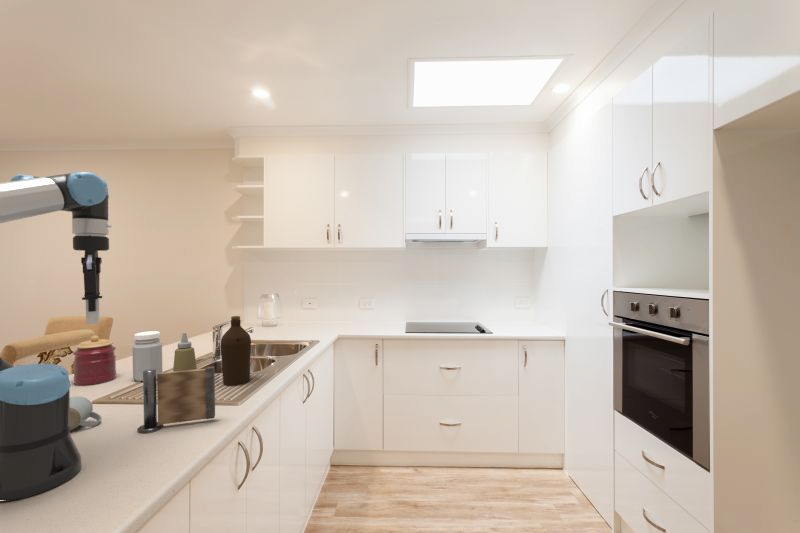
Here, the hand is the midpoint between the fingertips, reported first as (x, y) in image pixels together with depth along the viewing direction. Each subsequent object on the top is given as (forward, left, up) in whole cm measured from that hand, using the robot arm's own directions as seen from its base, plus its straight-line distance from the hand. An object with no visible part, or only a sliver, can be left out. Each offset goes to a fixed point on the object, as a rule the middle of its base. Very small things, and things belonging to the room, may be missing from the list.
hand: (92, 323), depth 102 cm
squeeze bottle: (+38, -24, -30) cm, 54 cm away
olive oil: (+23, -40, -30) cm, 55 cm away
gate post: (-6, -12, -29) cm, 33 cm away
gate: (-9, -21, -28) cm, 37 cm away
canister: (+57, +5, -30) cm, 64 cm away
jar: (+48, -12, -30) cm, 58 cm away
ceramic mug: (+7, +5, -30) cm, 31 cm away
